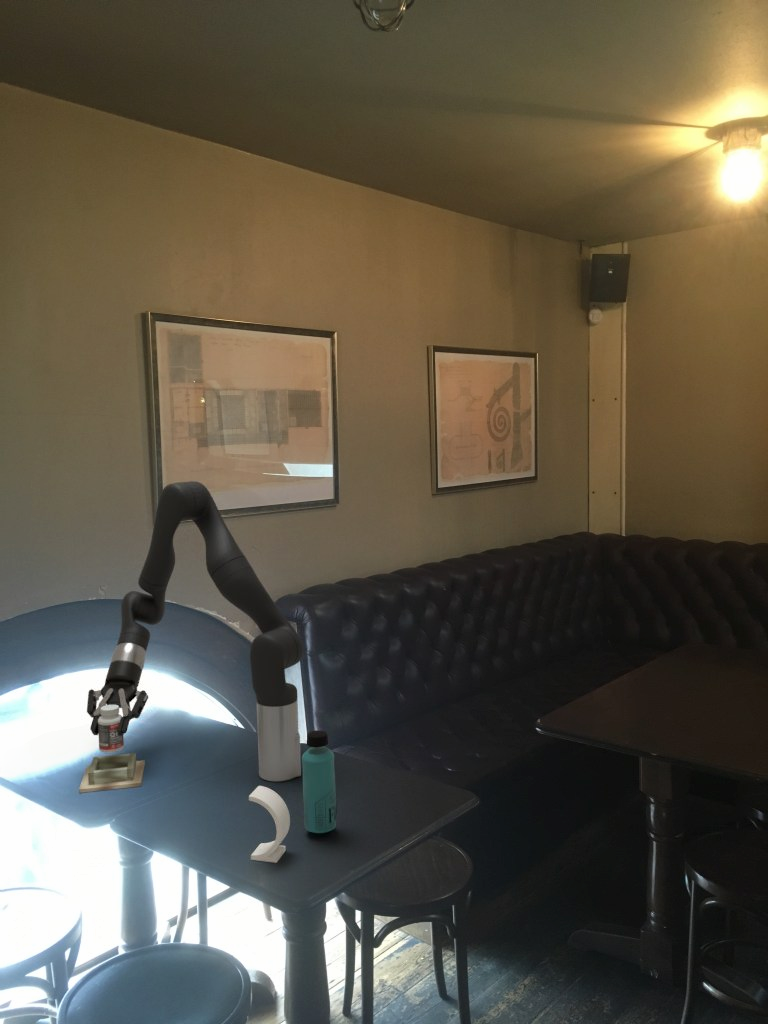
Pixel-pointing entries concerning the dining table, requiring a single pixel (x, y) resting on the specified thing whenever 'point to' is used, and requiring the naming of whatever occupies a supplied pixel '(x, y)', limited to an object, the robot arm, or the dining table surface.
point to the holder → (112, 773)
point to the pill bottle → (109, 729)
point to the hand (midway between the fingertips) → (107, 733)
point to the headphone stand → (282, 821)
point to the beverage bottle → (319, 784)
